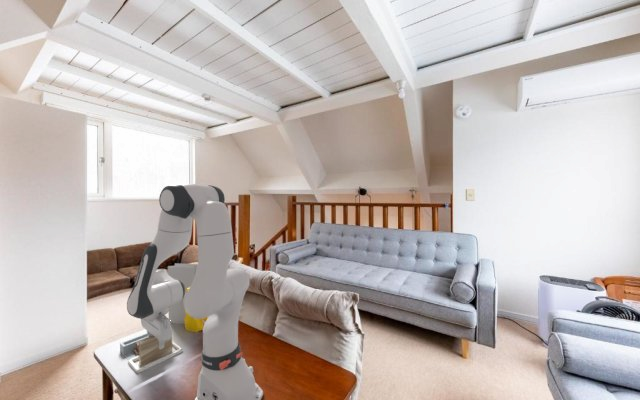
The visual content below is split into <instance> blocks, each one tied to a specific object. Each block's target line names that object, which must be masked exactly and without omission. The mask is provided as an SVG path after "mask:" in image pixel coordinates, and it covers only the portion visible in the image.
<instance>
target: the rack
mask: <svg viewBox="0 0 640 400" xmlns="http://www.w3.org/2000/svg"><path fill="white" fill-rule="evenodd" d="M146 338H148V334H147V332H145V333H143V334H140V335H138V336H135V337H133V338H130V339H127V340H125V341H122V342H119V352H120V353H121V354H122V355H123V356H124V358H125V359H126V360H127V361H128V360H130V359H132V358H135V357H137V356H136V355H135V354H134V353H133V349H135V348H136V342H138V341H140V340H143V339H146ZM138 356H139V355H138Z"/></svg>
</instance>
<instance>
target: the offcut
mask: <svg viewBox="0 0 640 400" xmlns="http://www.w3.org/2000/svg"><path fill="white" fill-rule="evenodd" d="M133 353H134V354H135V355H136V356H138V355H139V351H138V350H137V349H136V348H135V349H133Z"/></svg>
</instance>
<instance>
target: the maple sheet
mask: <svg viewBox="0 0 640 400" xmlns="http://www.w3.org/2000/svg"><path fill="white" fill-rule="evenodd" d="M172 341H173V330H171V338H170V339H168V340H166V341H165V343H164V348H163V349H161V350H160V349H159V348H158V344H159V341H158V339H157V338H156V337H154V336H152V337H149V338H147V339H144V340H142V341H139V360H138V363H139V365H140V367H143V366H145V365H147V364H149V363H151V362H154V361H156V360H158V359H160V358H162V357H164V356H166V355H168V354H171V353H173V346H172Z"/></svg>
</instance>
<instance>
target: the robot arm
mask: <svg viewBox="0 0 640 400" xmlns="http://www.w3.org/2000/svg"><path fill="white" fill-rule="evenodd" d="M158 199H159V202H158V203H159V205H160V208H161V211H160V215H159V219H158V225H157V231H156V234H155V236H154V237H153V240H152V241H151V243H150V244H148V245H147V246H146V247H145V248H144V251H143V254H142V256H141V260H140V262H139V266H138V270H137V274H136V277H135V280H134V284H133V287H132V290H131V291H130V294H129V296H128V298H127V302H126V310H127V312H128V315H130V316H132V317H133V318H136V319H140V324H141V326H142V328H143V329H144V330H146V333H147V334H148V338H149V337H152V336H154V337H156V338H157V339H158V341H159V344H158V348H159V349H160V350H161V349H163V348H164V343H165V341H166V340H168V339H170V338H171V331H172V323H170V320H169V317H167V315H168V314H169V308H168V307H170V306H173V305H175V304H177V303H179V302H181V301H182V300H183V298H184V308H185V310H186V312H187V313H188V314H189V315H190V316H191V317H193V318H195V319H202V320H203V318H205V317H207V318H208V319H207V320H206V322H205V321H204V323H203V330H202V350H201V355H200V356H201V358H200V359H201V364H202V366H201V369H200V372H199V373H198V377H197V391H196V396H195V398H194V400H262V398H263V396H264V391H263V389H262V388H261V387H260V385H259V384H258V383H257V382H256V380H255V376H254V368H253V366H251V365H249V366H248V364H247V363H246V359H245V358H244V357H242V356H243V355H244V354H243V353H244V352H243V351H242V350H241V345H240V343H239V319H240V313H241V310H242V304H243V301H244V297H245V295H246V293H247V290H248V289H249V287H250V277H249V275H248V273H247V271H246V270H244V269H242V268H240V267H237V268H236V267H235V268H229V265H230V262H231V261H232V259H233V257H234V253H235V249H234V240H233V239H234V237H233V228H232V222H231V221H232V220H231V216H230V213H229V210H228V207H227V205H226V204H225V202H226V201H225V194H224V192H223V190H222V189H221V188H219V187H218V186H214V185H212V184H211V185H207V184H206V185H205V184H197V183H181V184H180V183H173V184H169V185H167V186H164V187H163V188H162V189H161V192H160V194H159V197H158ZM193 220H194V222H195V225H196V227H195V228H196V241H197V253H198V254H197V264H198V265H197V270H196V274H195V277H194V280H193V283H192V285H191V286H190V288H189V290H188V291H187V292H186V294H185V286H184V284H183V283H182V282H181V281H179V280H177V279H173V278H172V277H170V276H169V275H168V270H167V269H165V268H159V266H160V265H161V264H162V263H164V262H165V261H166V260H168V259H169V258H170V257H173V256H174V255H176V254H178V253H179V252H182V251H183V250H184V249H185V248H186V247H187V246H188V245H189V243H190V242H191V237H192V232H193ZM184 295H185V296H184Z"/></svg>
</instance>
